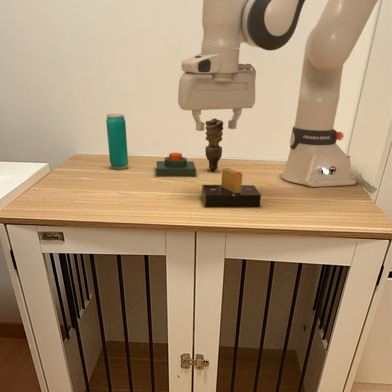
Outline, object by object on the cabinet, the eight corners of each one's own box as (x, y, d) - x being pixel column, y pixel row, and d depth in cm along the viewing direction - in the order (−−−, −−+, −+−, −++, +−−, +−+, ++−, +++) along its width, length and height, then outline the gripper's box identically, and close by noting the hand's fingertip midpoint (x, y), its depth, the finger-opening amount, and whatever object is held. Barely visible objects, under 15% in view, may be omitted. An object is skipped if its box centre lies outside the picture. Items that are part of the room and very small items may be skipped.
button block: (193, 168, 134) (193, 155, 132) (195, 176, 126) (196, 162, 124) (156, 168, 133) (156, 154, 131) (156, 176, 125) (156, 162, 123)
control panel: (252, 195, 112) (253, 183, 110) (260, 208, 103) (261, 195, 101) (201, 195, 111) (201, 183, 109) (205, 208, 102) (206, 195, 100)
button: (181, 158, 129) (181, 152, 128) (182, 161, 126) (182, 155, 125) (169, 158, 129) (168, 152, 128) (169, 161, 126) (169, 155, 125)
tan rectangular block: (221, 186, 107) (222, 167, 104) (227, 186, 108) (228, 166, 105) (234, 193, 103) (236, 173, 100) (240, 192, 103) (242, 172, 101)
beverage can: (126, 165, 135) (122, 113, 126) (130, 169, 131) (126, 116, 122) (108, 166, 134) (104, 113, 125) (112, 170, 129) (107, 116, 120)
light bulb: (201, 171, 131) (203, 118, 122) (206, 168, 135) (208, 116, 126) (218, 173, 130) (221, 120, 121) (222, 170, 134) (226, 117, 125)
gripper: (249, 63, 102) (243, 125, 110) (175, 62, 94) (175, 129, 102) (263, 64, 97) (257, 129, 106) (187, 63, 89) (186, 133, 98)
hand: (216, 129), depth 104 cm, fingers open, 8 cm apart
